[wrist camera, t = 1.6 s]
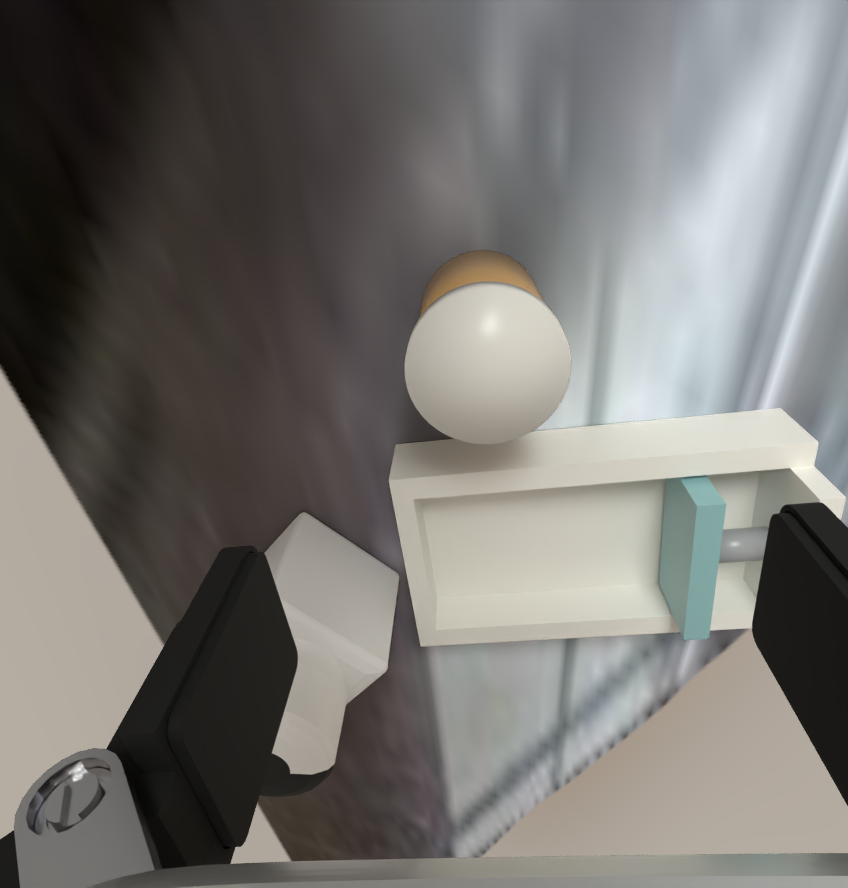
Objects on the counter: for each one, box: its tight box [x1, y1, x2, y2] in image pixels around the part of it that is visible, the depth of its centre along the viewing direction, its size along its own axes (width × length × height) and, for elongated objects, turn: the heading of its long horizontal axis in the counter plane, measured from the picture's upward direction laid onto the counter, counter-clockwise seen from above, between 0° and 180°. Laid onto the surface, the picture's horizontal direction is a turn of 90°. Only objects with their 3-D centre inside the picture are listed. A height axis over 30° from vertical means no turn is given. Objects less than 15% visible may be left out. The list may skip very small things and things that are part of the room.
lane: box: [389, 408, 846, 647], centre depth 30 cm, size 11×19×6 cm, turn 98°
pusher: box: [659, 475, 769, 640], centre depth 29 cm, size 8×4×4 cm, turn 8°
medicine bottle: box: [260, 512, 400, 797], centre depth 30 cm, size 7×7×12 cm
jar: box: [404, 250, 571, 444], centre depth 24 cm, size 6×6×8 cm
